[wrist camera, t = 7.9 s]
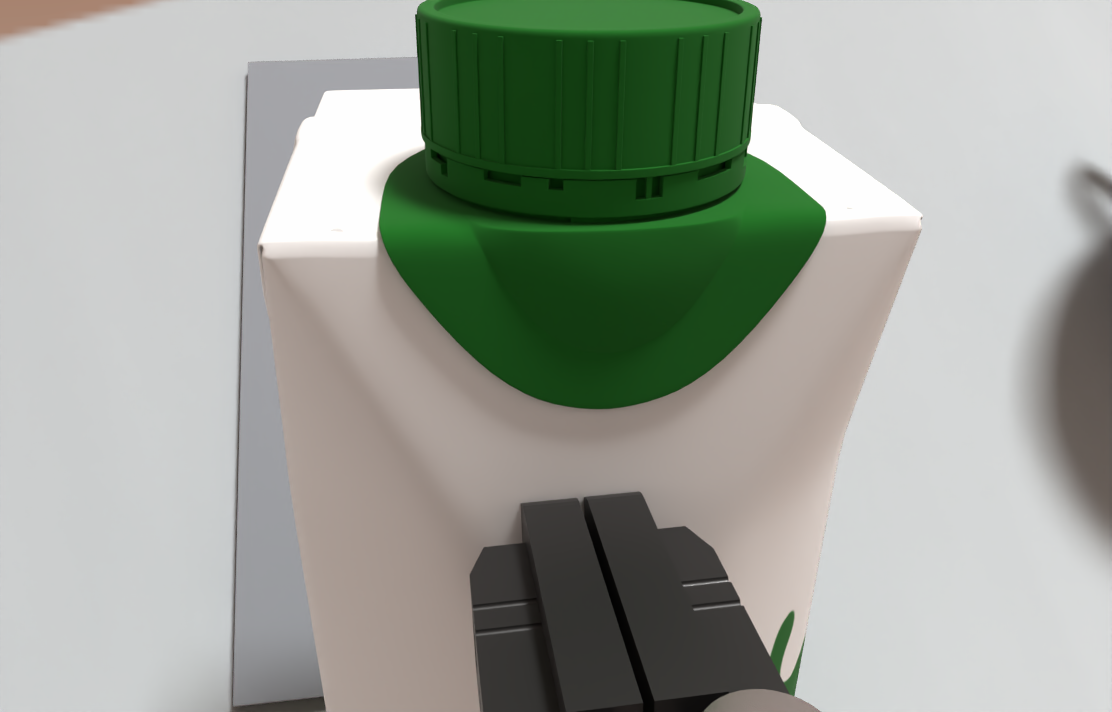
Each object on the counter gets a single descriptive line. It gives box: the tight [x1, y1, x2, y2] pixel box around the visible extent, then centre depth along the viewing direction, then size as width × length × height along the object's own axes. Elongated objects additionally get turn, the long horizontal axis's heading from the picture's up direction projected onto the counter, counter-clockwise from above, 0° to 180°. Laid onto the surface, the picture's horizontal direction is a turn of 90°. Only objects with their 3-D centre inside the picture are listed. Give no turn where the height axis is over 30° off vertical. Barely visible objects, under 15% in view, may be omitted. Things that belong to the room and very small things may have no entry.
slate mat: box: [233, 57, 419, 707], centre depth 30 cm, size 16×22×1 cm
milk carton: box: [257, 0, 922, 712], centre depth 17 cm, size 9×9×20 cm
